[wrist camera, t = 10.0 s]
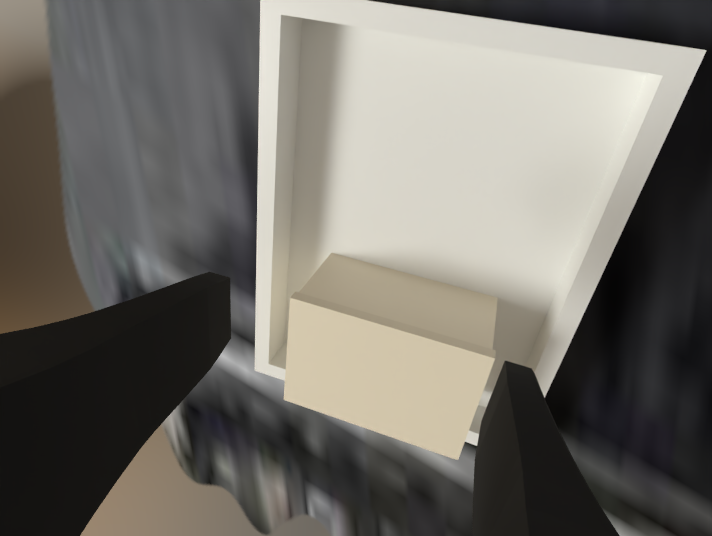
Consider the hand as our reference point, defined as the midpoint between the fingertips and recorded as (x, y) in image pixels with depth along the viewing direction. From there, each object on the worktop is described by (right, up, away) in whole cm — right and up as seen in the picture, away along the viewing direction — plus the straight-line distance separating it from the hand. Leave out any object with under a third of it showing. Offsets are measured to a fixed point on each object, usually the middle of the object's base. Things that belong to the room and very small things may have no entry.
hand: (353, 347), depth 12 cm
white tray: (+3, +3, +9) cm, 11 cm away
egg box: (+2, -1, +11) cm, 11 cm away
